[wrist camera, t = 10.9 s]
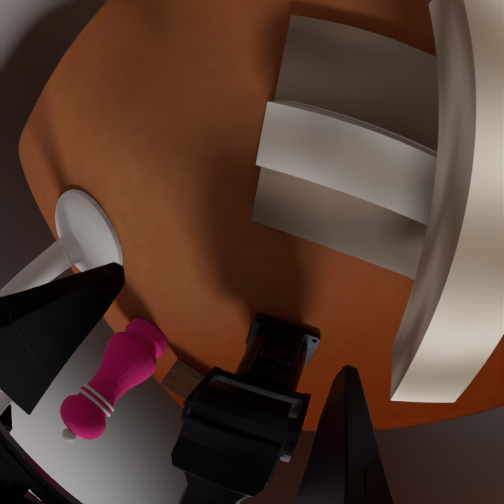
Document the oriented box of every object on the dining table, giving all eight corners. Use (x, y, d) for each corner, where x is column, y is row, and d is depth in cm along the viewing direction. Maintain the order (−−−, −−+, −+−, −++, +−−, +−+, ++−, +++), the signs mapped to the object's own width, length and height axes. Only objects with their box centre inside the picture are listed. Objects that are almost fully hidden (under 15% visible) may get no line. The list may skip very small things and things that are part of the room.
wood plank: (175, 361, 38) (158, 386, 34) (179, 356, 37) (161, 382, 33) (260, 413, 38) (248, 439, 34) (267, 410, 37) (255, 438, 33)
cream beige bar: (448, 349, 13) (454, 402, 10) (392, 344, 15) (390, 400, 12) (506, 29, 4) (551, 16, 1) (428, 4, 6) (454, -30, 2)
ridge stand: (496, 303, 16) (515, 356, 11) (258, 212, 20) (222, 254, 16) (567, 158, 8) (613, 186, 3) (296, 21, 12) (266, -11, 8)
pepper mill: (144, 346, 39) (70, 441, 23) (122, 311, 36) (34, 410, 20) (178, 355, 36) (100, 467, 20) (156, 317, 33) (59, 437, 17)
